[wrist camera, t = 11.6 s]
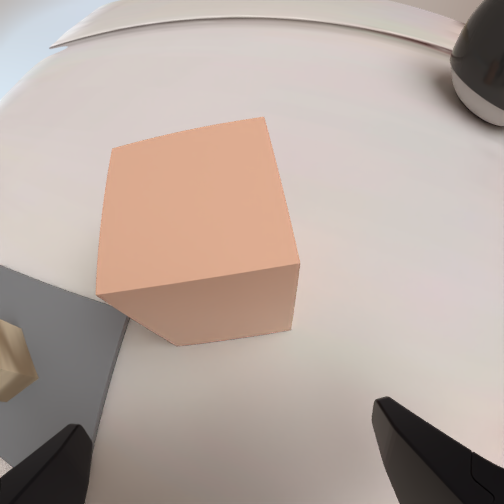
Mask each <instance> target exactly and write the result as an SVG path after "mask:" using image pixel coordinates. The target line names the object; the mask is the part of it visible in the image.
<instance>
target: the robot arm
mask: <svg viewBox="0 0 504 504" xmlns="http://www.w3.org/2000/svg"><path fill="white" fill-rule="evenodd" d="M372 425H373V428H374V432H375V435H376V439H377V442H378V446H379V450H380V453H381V457H382V461H383V464H384V467H385V469H386V472H387V474H388V477H389V479H390V482H391V484H392V486H393V489H394V491H395V494H396V496H397V498H398V501H399V503H400V504H504V468H502V467H500V466H498V465H495V464H494V463H492V462H490V461H488V460H486V459H485V458H483V457H481V456H480V455H478V454H476V453H475V452H472V451H471V450H470V449H468V448H467V447H465V446H463V445H462V444H460V443H459V442H457V441H456V440H454V439H452V438H451V437H449V436H448V435H446V434H445V433H443V432H442V431H440V430H438V429H437V428H435V427H434V426H432V425H431V424H429V423H428V422H426V421H425V420H423V419H422V418H420V417H419V416H417V415H415V414H414V413H412V412H411V411H409V410H408V409H406V408H405V407H403V406H402V405H400V404H399V403H398V402H396V401H395V400H393V399H392V398H390V397H382V398H379V399H376V400H375V401H374V405H373V412H372ZM92 449H93V443H92V440H91V438H90V437H89V435H88V434H87V432H86V431H85V429H84V427H83V426H82V425H80V424H74V423H70V424H68V425H67V426H66V427H64V428H63V429H62V430H61V431H59V432H58V433H57V434H56V435H54V436H53V437H52V438H51V439H49V440H48V441H47V442H45V443H44V444H43V445H42V446H40V447H39V448H38V449H37V450H35V451H34V452H33V453H31V454H30V455H29V456H28V457H26V458H25V459H24V460H23V461H21V462H20V463H19V464H17V465H16V466H15V467H13V468H12V469H11V470H10V471H8V472H7V473H6V474H4V475H3V476H2V477H1V478H0V504H84V503H85V498H86V493H87V489H88V483H89V475H90V466H91V457H92Z"/></svg>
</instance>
